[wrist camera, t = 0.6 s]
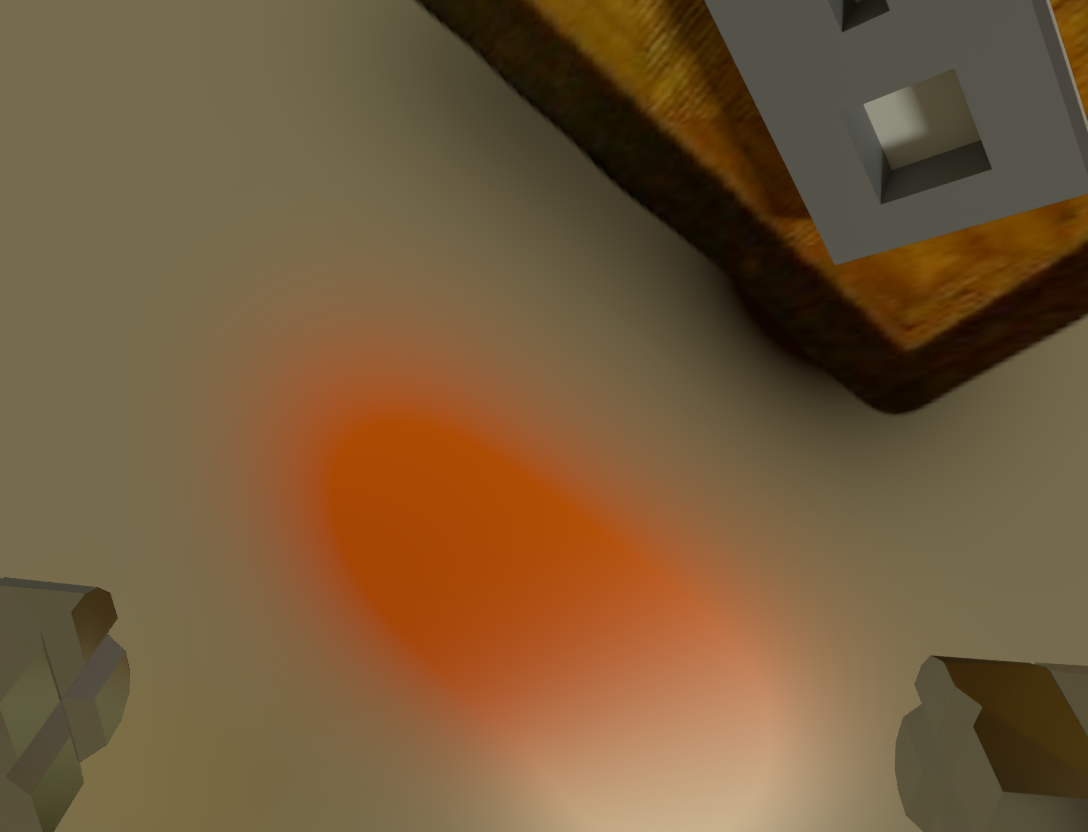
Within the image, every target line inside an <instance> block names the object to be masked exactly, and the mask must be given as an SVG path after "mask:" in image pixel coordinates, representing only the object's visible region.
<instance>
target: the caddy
mask: <svg viewBox="0 0 1088 832" xmlns="http://www.w3.org/2000/svg"><path fill="white" fill-rule="evenodd" d="M704 1H705V3H706V5H707V7H708V9H709V11H710V13H711V15H712V17H713V19H714V21H715V23H716V25H717V27H718V29H719V31H720V33H721V35H722V37H723V39H724V41H725V43H726V45H727V47H728V49H729V51H730V53H731V55H732V58H733V60H734V62H735V64H736V66H737V68H738V70H739V72H740V74H741V76H742V78H743V80H744V82H745V84H746V86H747V88H748V90H749V92H750V94H751V96H752V98H753V100H754V102H755V104H756V106H757V108H758V110H759V112H760V114H761V116H762V118H763V120H764V122H765V124H766V126H767V128H768V131H769V133H770V135H771V137H772V139H773V141H774V143H775V145H776V147H777V149H778V151H779V153H780V155H781V157H782V159H783V161H784V163H785V165H786V167H787V169H788V171H789V173H790V175H791V177H792V179H793V181H794V183H795V185H796V187H797V189H798V191H799V193H800V195H801V197H802V199H803V201H804V203H805V206H806V208H807V210H808V212H809V214H810V216H811V218H812V220H813V222H814V224H815V226H816V228H817V230H818V232H819V234H820V236H821V238H822V240H823V242H824V244H825V246H826V248H827V250H828V252H829V254H830V256H831V258H832V260H833V262H834V264H835V265H837V264H841V263H845V262H848V261H852V260H855V259H859V258H862V257H866V256H869V255H873V254H876V253H880V252H883V251H887V250H890V249H894V248H898V247H901V246H905V245H908V244H912V243H915V242H919V241H922V240H926V239H929V238H933V237H936V236H940V235H944V234H947V233H951V232H954V231H958V230H961V229H965V228H968V227H972V226H975V225H979V224H982V223H986V222H989V221H993V220H997V219H1000V218H1004V217H1007V216H1011V215H1014V214H1018V213H1021V212H1025V211H1028V210H1032V209H1035V208H1039V207H1043V206H1046V205H1050V204H1053V203H1057V202H1060V201H1064V200H1067V199H1071V198H1074V197H1078V196H1081V195H1085V194H1088V121H1087V118H1086V115H1085V112H1084V108H1083V105H1082V102H1081V99H1080V96H1079V92H1078V89H1077V86H1076V83H1075V80H1074V77H1073V73H1072V70H1071V67H1070V64H1069V61H1068V57H1067V54H1066V51H1065V48H1064V45H1063V42H1062V38H1061V35H1060V32H1059V29H1058V26H1057V22H1056V19H1055V16H1054V13H1053V10H1052V7H1051V3H1050V0H704Z"/></svg>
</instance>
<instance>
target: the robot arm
mask: <svg viewBox="0 0 1088 832" xmlns="http://www.w3.org/2000/svg"><path fill="white" fill-rule="evenodd" d="M117 618H118V617H117V614H116V610H115V607H114V604H113V600H112V597H111V593H110V592H108V591H105V590H103V589H101V588H99V587H91V586H82V585H72V584H62V583H53V582H43V581H34V580H25V579H16V578H7V577H4V578H0V832H54V831H55V829H56V827H57V826H58V824H59V822H60V821H61V819H62V817H63V816H64V814H65V813H66V811H67V809H68V808H69V806H70V805H71V803H72V801H73V800H74V798H75V796H76V795H77V793H78V791H79V790H80V788H81V787H82V785H83V783H84V781H83V776H82V770H81V765H80V762H81V761H83V760H84V759H86V758H87V757H89V756H90V755H92V754H94V753H95V752H96V751H98V750H100V749H101V748H103V747H104V746H106V745H107V744H108V742H109V741H110V739H111V737H112V735H113V734H114V732H115V730H116V728H117V727H118V725H119V723H120V722H121V719H122V715H123V712H124V709H125V705H126V702H127V698H128V695H129V687H130V686H129V684H130V668H129V664H128V659H127V655H126V651H125V650H124V649H123V648H121V646H120V645H119V644H118V643H116V642H115V641H114V640H113V639H112V638H111V637H110V636H109V635H108V634H107V633H108V632H109V630H110V629H111V627H112V626H113V624H114V623H115V621H116V620H117ZM915 687H916V689H917V692H918V695H919V697H920V700H921V702H922V704H921V705H920V706H918V707H917V708H915V709H914V710H913V711H911V712H910V713H908V714H907V715H905V716H904V717H903V719H902V723H901V726H900V730H899V733H898V736H897V740H896V753H895V754H896V755H895V773H896V778H897V785H898V791H899V794H900V798H901V801H902V804H903V807H904V810H905V814H906V816H907V817H908V818H909V819H910V820H912V821H913V822H914V823H915V824H916V825H917V826H918V827H919V828H920V829H921V830H922V831H923V832H1088V666H1079V665H1064V664H1049V663H1035V664H1031V663H1025V662H1012V661H998V660H984V659H971V658H957V657H944V656H930V657H929V658H928V659H927V660H926V661H925V662H924V663H923V664H922V665H921V668H920V671H919V674H918V676H917V679H916V682H915Z"/></svg>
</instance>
